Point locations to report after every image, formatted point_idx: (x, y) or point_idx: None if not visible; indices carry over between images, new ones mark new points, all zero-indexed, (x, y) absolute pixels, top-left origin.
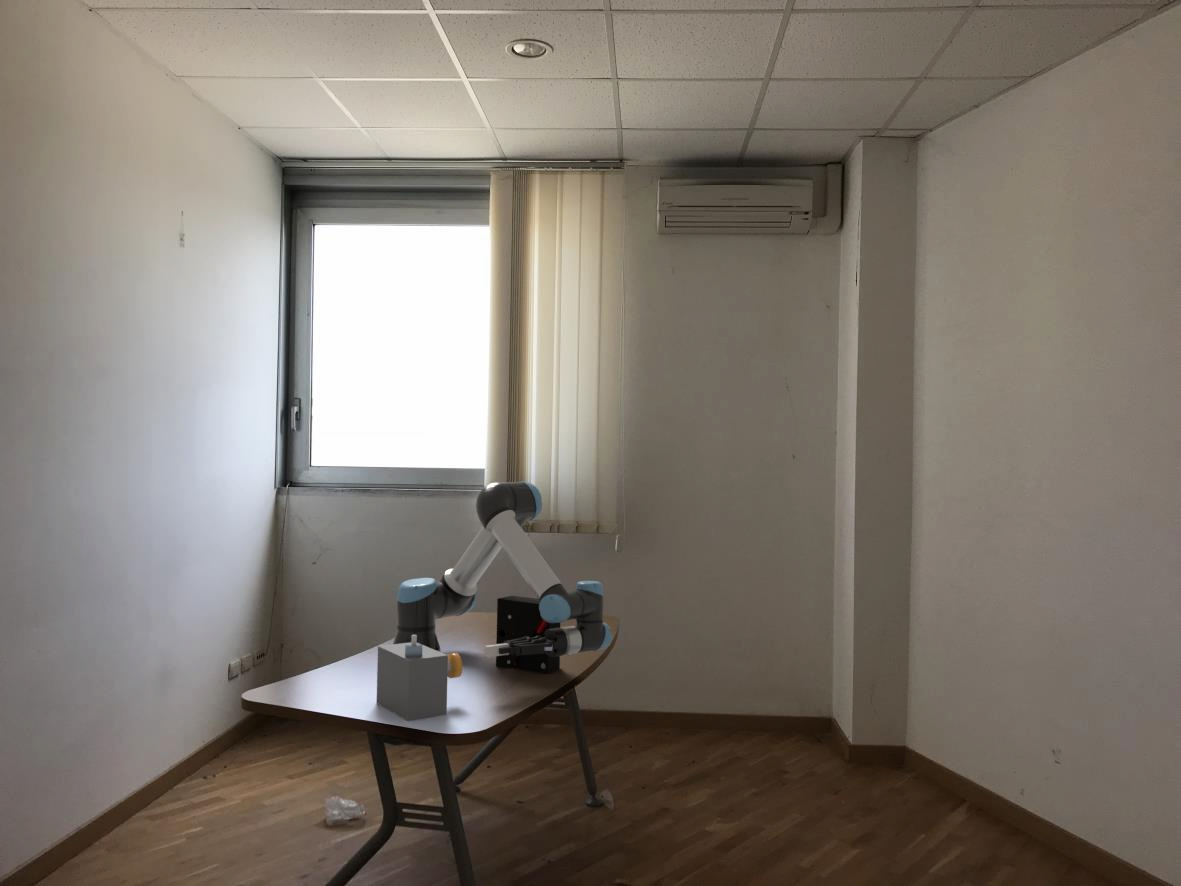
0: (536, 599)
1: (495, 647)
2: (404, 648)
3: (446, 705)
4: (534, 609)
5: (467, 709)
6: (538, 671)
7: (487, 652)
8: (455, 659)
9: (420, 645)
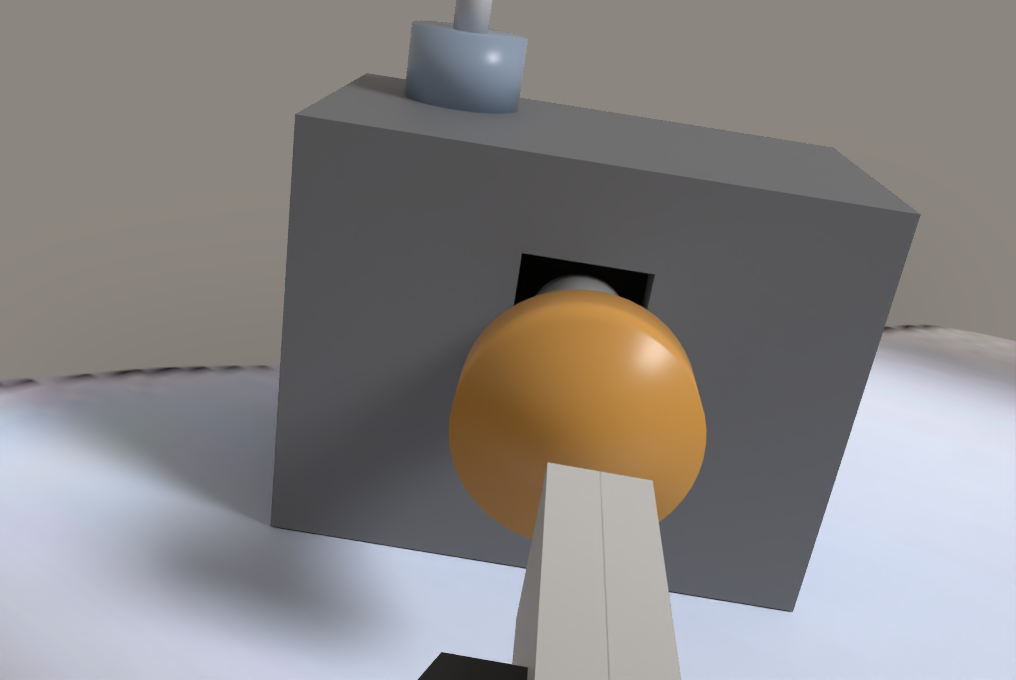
0: None
1: (534, 591)
2: (694, 144)
3: (274, 472)
4: None
5: (238, 654)
6: None
7: (532, 549)
8: (500, 320)
9: (439, 29)
